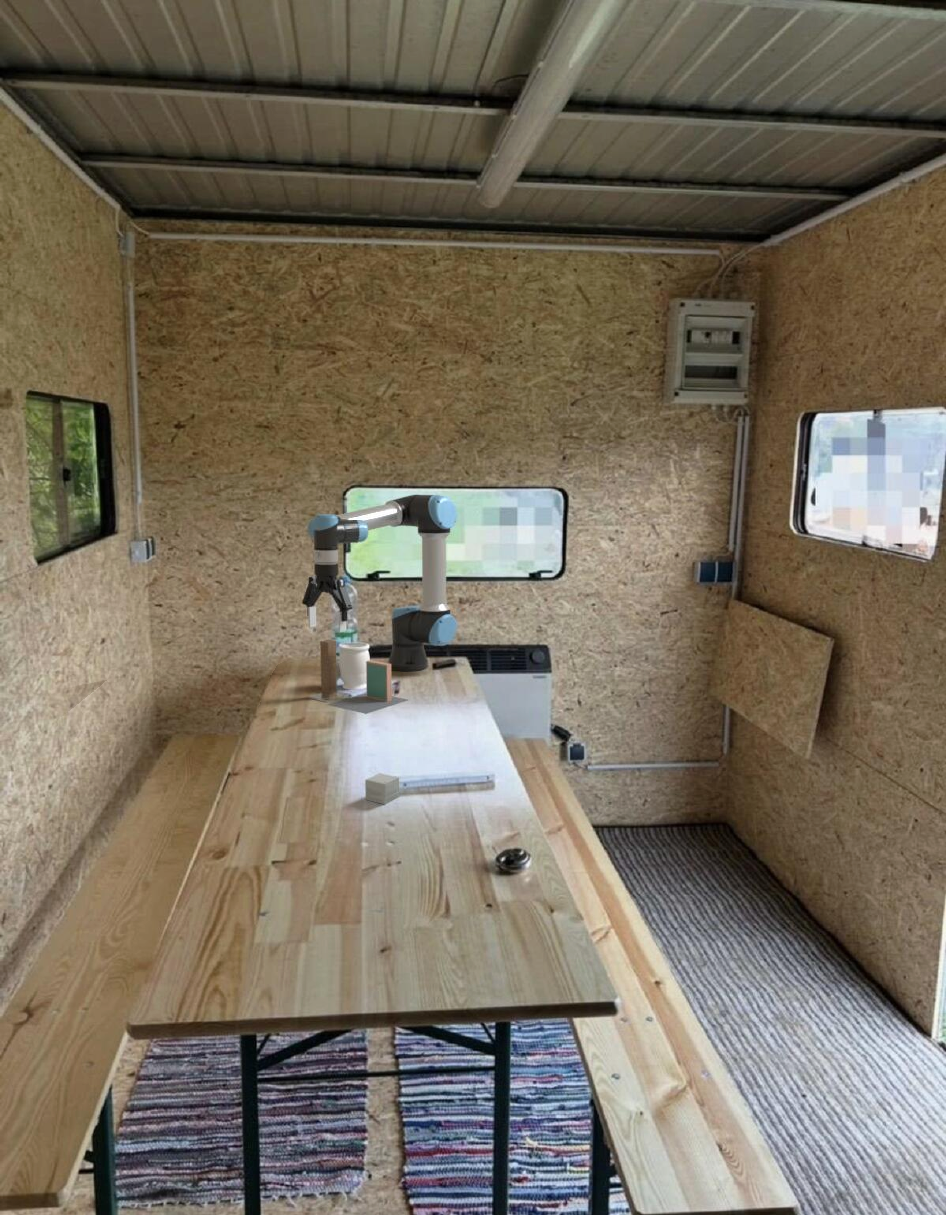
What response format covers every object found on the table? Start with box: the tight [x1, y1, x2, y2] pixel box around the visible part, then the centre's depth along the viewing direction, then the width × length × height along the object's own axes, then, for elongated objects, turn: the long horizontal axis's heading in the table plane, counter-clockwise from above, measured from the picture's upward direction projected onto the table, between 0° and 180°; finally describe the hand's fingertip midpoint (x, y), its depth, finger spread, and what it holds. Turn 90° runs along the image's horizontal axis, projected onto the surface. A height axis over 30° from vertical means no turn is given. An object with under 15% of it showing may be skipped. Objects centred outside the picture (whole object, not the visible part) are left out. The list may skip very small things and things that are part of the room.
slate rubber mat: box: [326, 692, 409, 715], centre depth 276 cm, size 20×17×1 cm
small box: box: [364, 772, 400, 805], centre depth 197 cm, size 6×6×5 cm
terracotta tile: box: [366, 659, 393, 702], centre depth 279 cm, size 2×9×12 cm, turn 54°
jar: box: [338, 641, 371, 691], centre depth 295 cm, size 11×10×15 cm
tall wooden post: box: [309, 639, 350, 703], centre depth 281 cm, size 10×8×19 cm
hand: (327, 629), depth 278 cm, fingers open, 13 cm apart
